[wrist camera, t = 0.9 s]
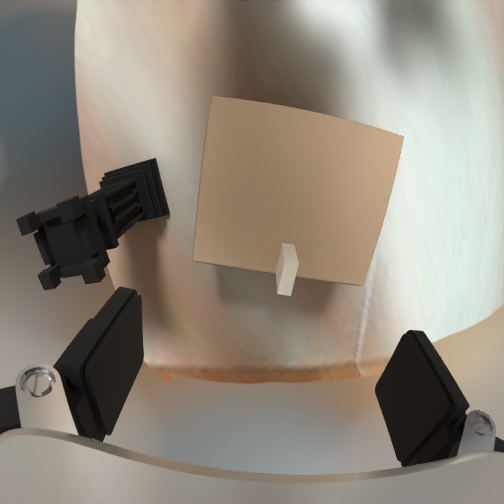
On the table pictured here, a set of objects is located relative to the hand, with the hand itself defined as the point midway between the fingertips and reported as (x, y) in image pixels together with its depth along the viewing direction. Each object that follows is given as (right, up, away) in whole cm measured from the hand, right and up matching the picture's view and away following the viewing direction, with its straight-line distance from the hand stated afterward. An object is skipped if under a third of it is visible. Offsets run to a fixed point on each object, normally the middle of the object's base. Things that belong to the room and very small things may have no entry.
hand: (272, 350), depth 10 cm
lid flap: (+3, +8, +18) cm, 20 cm away
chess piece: (-17, +12, +30) cm, 36 cm away
